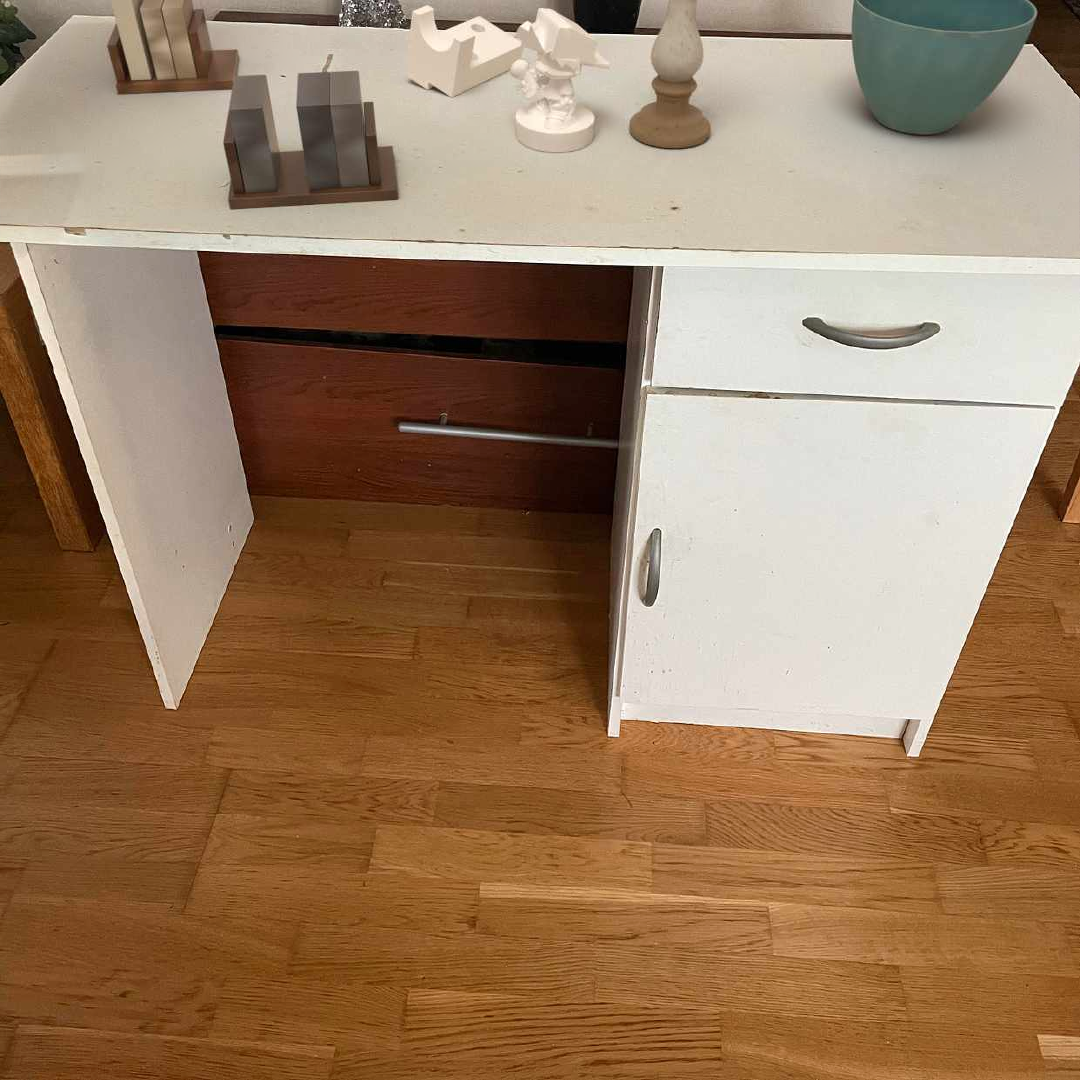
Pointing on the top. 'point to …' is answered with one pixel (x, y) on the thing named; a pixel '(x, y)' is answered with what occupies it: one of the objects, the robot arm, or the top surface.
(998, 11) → the plant pot
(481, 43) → the bracket
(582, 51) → the character figurine
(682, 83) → the candle holder
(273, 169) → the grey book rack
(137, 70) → the cream book
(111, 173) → the top surface
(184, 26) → the brown book rack
